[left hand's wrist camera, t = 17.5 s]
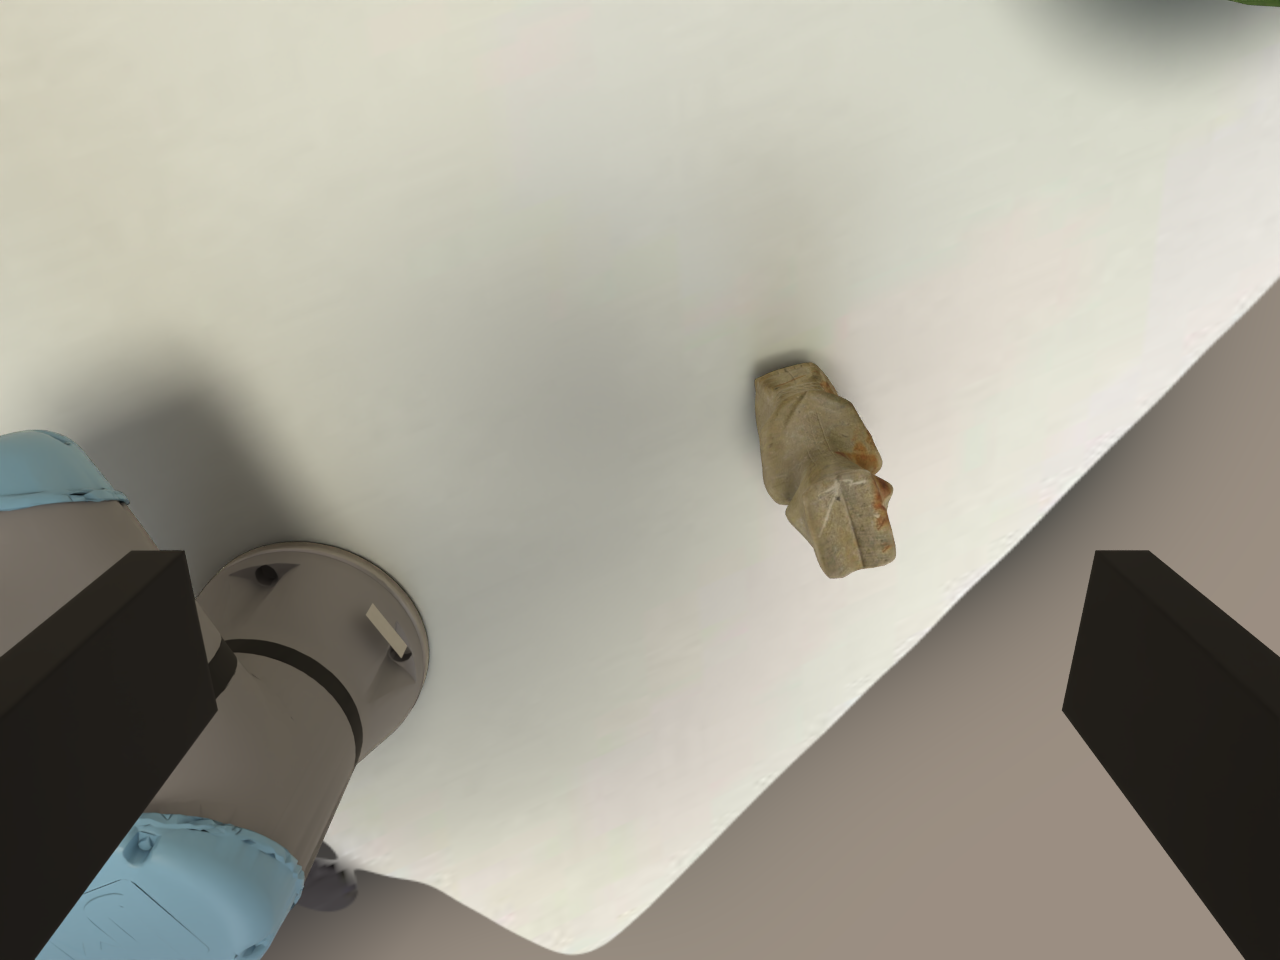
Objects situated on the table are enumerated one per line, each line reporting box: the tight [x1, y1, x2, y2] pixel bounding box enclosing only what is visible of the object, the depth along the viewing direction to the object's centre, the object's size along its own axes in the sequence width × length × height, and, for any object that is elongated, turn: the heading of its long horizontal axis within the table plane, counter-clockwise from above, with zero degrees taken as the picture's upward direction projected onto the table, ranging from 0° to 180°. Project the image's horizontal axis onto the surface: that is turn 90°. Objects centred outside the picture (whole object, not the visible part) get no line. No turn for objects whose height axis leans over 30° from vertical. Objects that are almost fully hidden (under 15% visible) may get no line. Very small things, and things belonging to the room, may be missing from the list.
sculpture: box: [755, 362, 896, 579], centre depth 45 cm, size 6×7×15 cm
